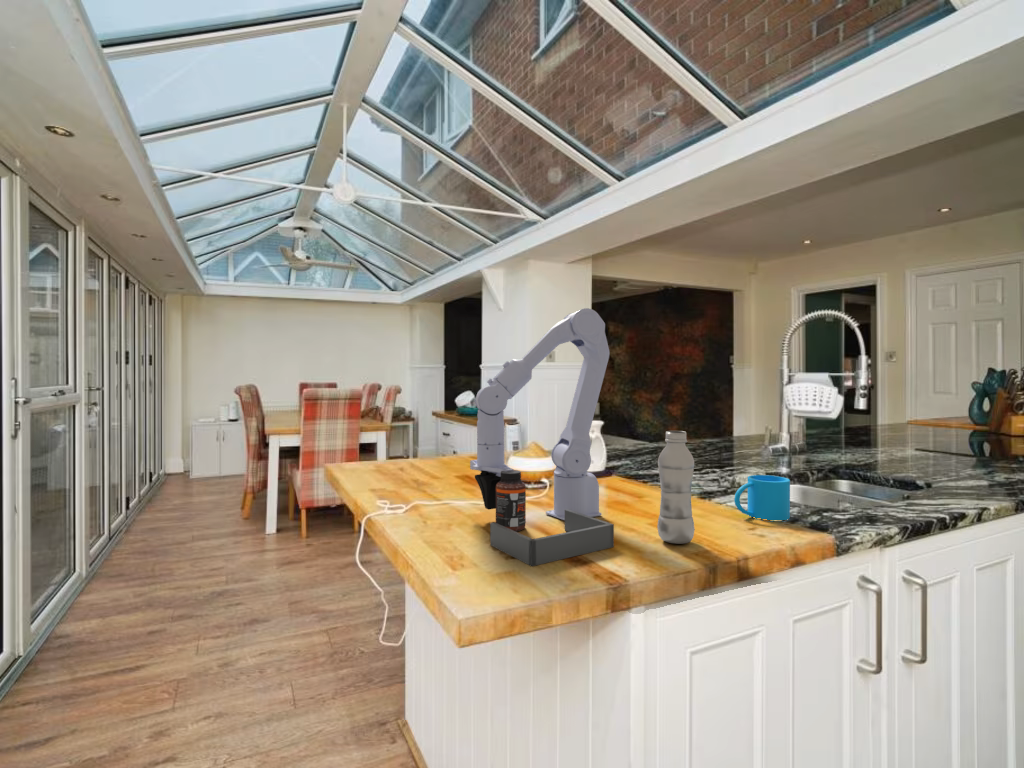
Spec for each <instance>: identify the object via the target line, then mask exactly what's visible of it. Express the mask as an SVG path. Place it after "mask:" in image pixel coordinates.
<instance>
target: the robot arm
mask: <svg viewBox="0 0 1024 768" xmlns="http://www.w3.org/2000/svg"><path fill="white" fill-rule="evenodd" d="M569 342H570V343H572V344H573V345H574V346H576V348H577V349H578V352H579V353H580V354H581V355H582V356H583V360H582V364H581V368H580V371H579V375H578V379H577V384H576V387H575V391H574V394H573V397H572V402H571V406H570V410H569V414H568V418H567V421H566V426H565V427H564V429H563V430H562V431H561V433H560V435H559V440H558V441H557V443H556V444H555V445H554V447H552V450H551V452H550V453H551V455H550V456H551V460H552V463H553V464H554V466H555V469H554V471H553V509H551V510H546V511H545V514H546V515H549V516H552V517H554V518H557V519H560V520H562V521H565V510H567V509H568V510H571V511H574V512H578V513H581V514H584V515H587V516H590V517H593V518H596V517H601V516H602V515H603V514H602V512H600V485H599V484H600V483H599V481H598V479H597V477H596V476H595V475H594V474H593V473H592V472H588V470H589V469H590V467H591V464H592V457H591V447H592V440H591V437H590V436H591V435H590V430H591V427H592V425H593V420H594V416H595V413H596V408H597V405H598V401H599V397H600V394H601V393H600V392H601V389H602V385H603V383H604V382H603V381H604V378H605V375H606V370H607V365H608V362H609V359H610V353H611V352H610V349H609V348H610V347H609V345H608V344H609V343H608V338H607V336H606V323H605V322H604V320H603V318H602V317H601V316H600V314H599V313H598V312H597V311H596V310H594V309H592V308H588V307H587V308H586V307H585V308H580V309H579V310H577V311H575V312H572V313H568V314H567V315H565V316H564V318H563V319H562V320H559V321H558V322H557V323H555V324H554V325H553V326H552V327H551V328H550V329H549V330H547V332H546V333H545V334H544V335H543V336H542V337H541V338H540V339H539V340H538V341H537V342H536V343H535V344H534V345H533V346H532V347H531V349H530V350H528V351H527V352H526V353H525V355H524V356H523V357H522V358H521V359H520V358H519V359H518V358H516V359H515V358H512V359H511V360H510V361H508V360H507V361H505V362H504V363H503V364H502V367H503V368H502V369H501V370H500V371H499V372H498V373H497V374H496V375H495V376H494V377H493V378H489V379H487V380H486V383H487V384H488V385H487V386H483V387H482V388H480V389H479V390H478V391H477V394H476V396H475V399H474V404H475V406H476V408H477V415H476V416H477V421H476V457H477V458H476V459H472V460H470V461H469V464H470V465H469V466H470V467H469V468H470V470H474V471H478V472H479V471H480V472H479V474H475V475H474V479H475V481H476V483H477V484H478V487H479V490H480V492H481V496H482V500H483V505H484V508H485V509H486V510H496V484H497V483H498V482H500V481H501V471H504V472H507V471H514V470H515V469H513V468H511V467H509V466H508V465H507V464H506V463H505V420H504V419H505V418H504V413H505V412H504V410H506V407H507V405H508V401H509V400H512V399H513V398H514V397H515V395H517V394H518V393H519V392H520V391H521V390H522V389H523V387H525V386H526V385H527V384H528V383H529V382H530V381H531V380H532V377H533V375H532V374H533V369H535V368H536V367H537V366H538V365H539V364H540V363H541V362H542V361H543V360H544V359H545V358H546V357H547V356H548V355H550V354H551V353H552V352H553V351H554V350H555V349H556V348H557V347H558V346H560V345H562V344H566V343H569Z"/></svg>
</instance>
